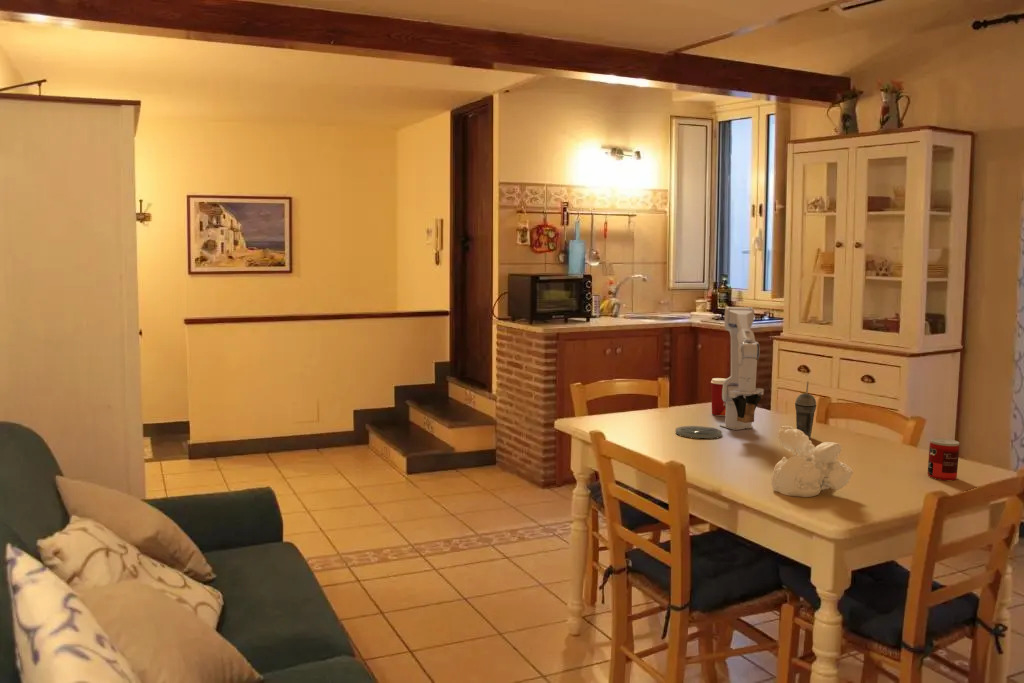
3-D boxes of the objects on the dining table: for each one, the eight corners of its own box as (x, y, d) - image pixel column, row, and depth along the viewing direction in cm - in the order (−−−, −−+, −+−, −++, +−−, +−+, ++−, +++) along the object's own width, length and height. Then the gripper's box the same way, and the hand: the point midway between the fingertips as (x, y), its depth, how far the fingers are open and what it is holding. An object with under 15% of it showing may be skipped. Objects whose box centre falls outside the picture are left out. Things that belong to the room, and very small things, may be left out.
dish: (699, 427, 332) (699, 424, 332) (731, 436, 319) (731, 432, 318) (666, 431, 323) (666, 428, 323) (697, 440, 310) (697, 437, 310)
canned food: (931, 472, 275) (933, 436, 273) (959, 477, 270) (962, 441, 268) (923, 477, 269) (926, 440, 267) (953, 482, 264) (956, 445, 262)
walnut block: (745, 419, 315) (746, 402, 315) (753, 421, 312) (754, 404, 311) (736, 420, 313) (737, 403, 313) (745, 423, 310) (746, 405, 309)
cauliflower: (748, 458, 250) (792, 414, 258) (768, 510, 259) (809, 467, 267) (805, 477, 235) (850, 430, 243) (824, 532, 244) (866, 486, 252)
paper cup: (731, 416, 352) (732, 381, 351) (711, 416, 353) (712, 380, 351) (726, 412, 360) (728, 377, 359) (707, 412, 360) (708, 377, 359)
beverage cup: (812, 435, 323) (815, 379, 320) (816, 439, 315) (820, 383, 313) (790, 434, 323) (794, 378, 321) (795, 439, 316) (798, 382, 314)
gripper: (741, 380, 304) (739, 420, 305) (771, 377, 311) (769, 416, 313) (725, 377, 310) (723, 416, 311) (755, 374, 317) (753, 413, 319)
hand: (745, 416), depth 313 cm, fingers closed on walnut block, 4 cm apart
